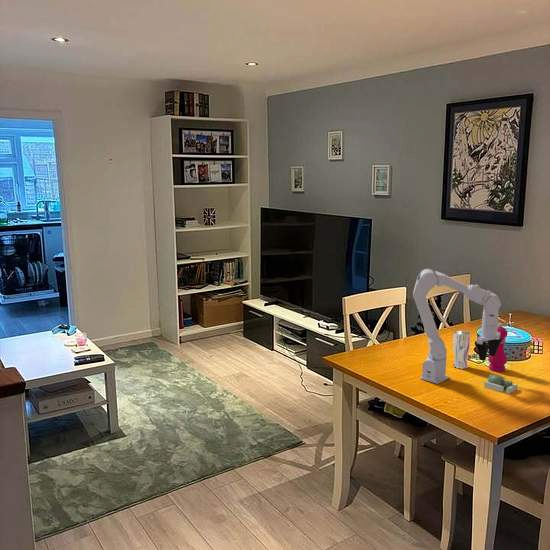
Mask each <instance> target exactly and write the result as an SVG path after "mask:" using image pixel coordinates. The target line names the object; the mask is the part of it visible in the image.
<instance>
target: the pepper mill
mask: <svg viewBox="0 0 550 550" xmlns="http://www.w3.org/2000/svg"><path fill="white" fill-rule="evenodd" d="M497 332H500V338H501V339H502V342H501V343H500V345H499V347H498V349H497V352H496V355H495V356H490V355H489V354H488V359H487V360H488V362H489V364H488V370H489V371H491V372H495V373H503V372H506V364H507V363H508V357H507V354H506V352H505V343H506V338H507V337H508V330H507V329H506V328H505V327H503V324H502V323H501V322H498V329H497Z"/></svg>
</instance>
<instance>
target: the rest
mask: <svg viewBox="0 0 550 550" xmlns="http://www.w3.org/2000/svg"><path fill="white" fill-rule="evenodd" d="M483 387H484V388H487V389H490V390H493V391H497V392H500V393H503V392H504V390H505V389H504V388H506V392H505V394H506V395H510V394H512V393H513V392H515V391H517V390H518V383H513V384H512V385H511V386H510V387H508V386H504V385H503V386H500V385H497V384H493V383H490V382H488V381H484V386H483Z"/></svg>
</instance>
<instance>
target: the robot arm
mask: <svg viewBox="0 0 550 550" xmlns="http://www.w3.org/2000/svg"><path fill="white" fill-rule="evenodd" d="M415 281H416V282H415V285H414V288H413V291H412V297H413V299H414V302H415V305H416V309H417V310H418V313H419V317H420V320H421V323H422V325H423V328H424V330H425V331H424V332H425V334H426V337H427V341H428V349H429V353H428V354H427V357H426V359H425V360H424V361H423V363H422V371H421V372H422V373H421V376H420V377H419V379H420V380H424V381H427V382H430V383H432V384H433V383H434V384H437V385H438V384H440V383H442V382H444V381H446V380H448V379H450V378H451V377H450V376H448V375H447V374H446V373H447V357H448V356H447V354H448V351H447V348H446V343H445V341H444V340H443V338H441V337H440V334H439V331H438V328H437V325H436V322H435V320H434V317H433V314H432V311H431V307H430V306H429V302H428V299H427V295H429V293H430V291H431V290H432V289H433V288H435V287H436V286H437V287H443V286H446V287H449V288H451V289H453V290H455V291H457V292H459V293H462V294H463V295H464V297H465V299H468V300H470V301H472V302H474V303H476V304H479V305H480V306H482V305H483V312H482V319H481V332H480V335H479V336H478V337H477V338H476V340H475V341H474V346H475V347H476V349H477V355H478V359H479V361H482V362H485V361H486V359H487V355H488V356H489V355H490V356H495V355H496V352H497V349H498V347H499V345H500V343H501V342H502V339H501V338H500V332H497V329H498V324H499V315H500V314H499V311H500V308H501V306H502V302H501V299H500V298H499V296H498V295H497V294H495V292H493V291H491V290H487V289H483V288H481V287H480V285H478V284H476V283H475V285H474V284H473V283H472V284H468V285H467V284H465V283H463V282H460V281H459V280H457V279H455V278H453V277H451V276H449V275H447V274H445V273H443V272H440V271H437V270H433V269H431V268H424V269H422V270H421V271H420V273H418V275H417V277H416V280H415Z"/></svg>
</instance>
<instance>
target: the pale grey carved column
mask: <svg viewBox="0 0 550 550" xmlns="http://www.w3.org/2000/svg"><path fill="white" fill-rule="evenodd" d="M471 341H472V340H471V332H470V331H468V330H461V329H460V330H455V331H454V332H453V337H452V347H453V357H454V359H453V363H452V367H453V366H454V368H455V367H456V368H455V369H458V368H460V369H459V370H467V369H468V368H469V364H468V359H469V354H470V349H471ZM466 368H467V369H466Z"/></svg>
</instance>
